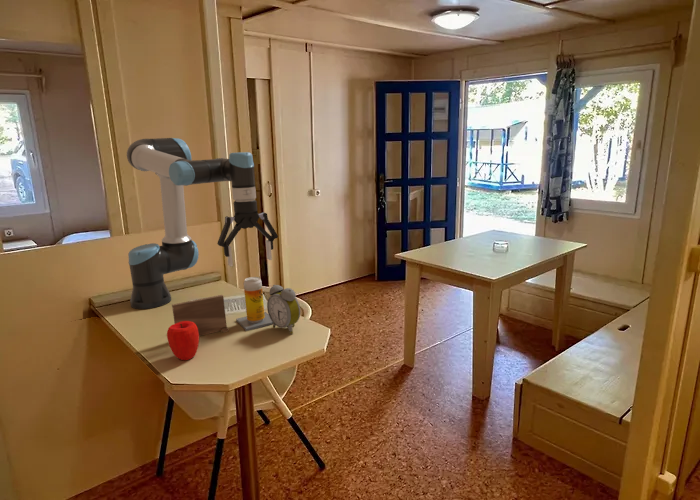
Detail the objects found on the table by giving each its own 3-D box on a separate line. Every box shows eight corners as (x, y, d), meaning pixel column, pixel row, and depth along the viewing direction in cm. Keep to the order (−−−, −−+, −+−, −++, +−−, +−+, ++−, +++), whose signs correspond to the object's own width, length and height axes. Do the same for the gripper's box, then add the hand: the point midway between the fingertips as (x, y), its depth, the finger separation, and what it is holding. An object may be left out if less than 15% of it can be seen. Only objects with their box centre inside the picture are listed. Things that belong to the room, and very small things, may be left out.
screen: (175, 337, 149) (171, 303, 146) (224, 326, 157) (220, 293, 154) (178, 343, 145) (173, 307, 142) (228, 331, 152) (224, 297, 150)
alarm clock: (268, 328, 154) (264, 285, 150) (283, 321, 158) (280, 280, 155) (290, 336, 146) (286, 292, 142) (306, 329, 151) (303, 286, 147)
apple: (177, 350, 139) (173, 317, 137) (205, 350, 139) (201, 317, 136) (165, 364, 130) (160, 329, 128) (195, 364, 130) (190, 328, 128)
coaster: (236, 320, 161) (236, 318, 161) (265, 314, 166) (265, 311, 166) (246, 331, 152) (245, 328, 152) (277, 323, 157) (276, 321, 157)
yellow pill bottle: (260, 323, 155) (257, 281, 152) (244, 323, 157) (240, 281, 153) (267, 317, 161) (264, 276, 158) (251, 316, 162) (247, 276, 159)
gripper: (209, 205, 140) (216, 271, 145) (284, 197, 152) (288, 258, 157) (203, 202, 146) (210, 266, 151) (276, 195, 159) (280, 254, 164)
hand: (250, 262), depth 154 cm, fingers open, 13 cm apart
